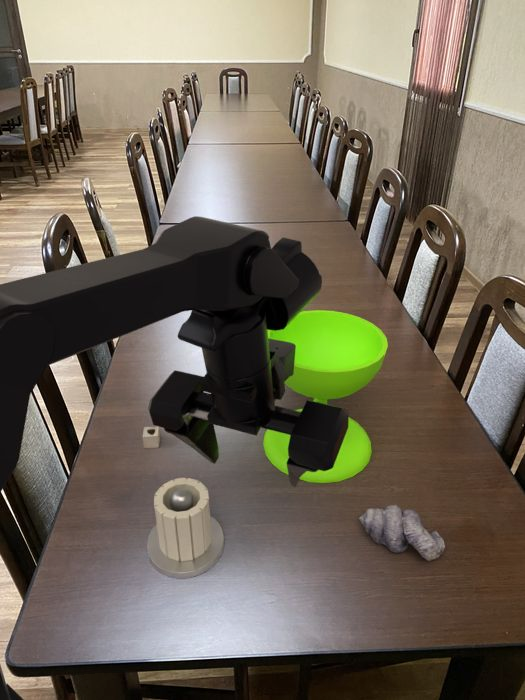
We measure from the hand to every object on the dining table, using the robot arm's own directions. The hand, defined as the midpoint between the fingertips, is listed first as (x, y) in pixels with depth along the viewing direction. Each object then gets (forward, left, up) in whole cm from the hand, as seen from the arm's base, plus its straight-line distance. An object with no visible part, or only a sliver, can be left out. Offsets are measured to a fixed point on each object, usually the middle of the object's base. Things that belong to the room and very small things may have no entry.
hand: (254, 471), depth 57 cm
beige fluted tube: (-8, +2, -12) cm, 14 cm away
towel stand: (-8, +2, -13) cm, 15 cm away
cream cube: (-12, +21, -13) cm, 27 cm away
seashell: (+17, -2, -13) cm, 22 cm away
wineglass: (+12, +17, -13) cm, 25 cm away
